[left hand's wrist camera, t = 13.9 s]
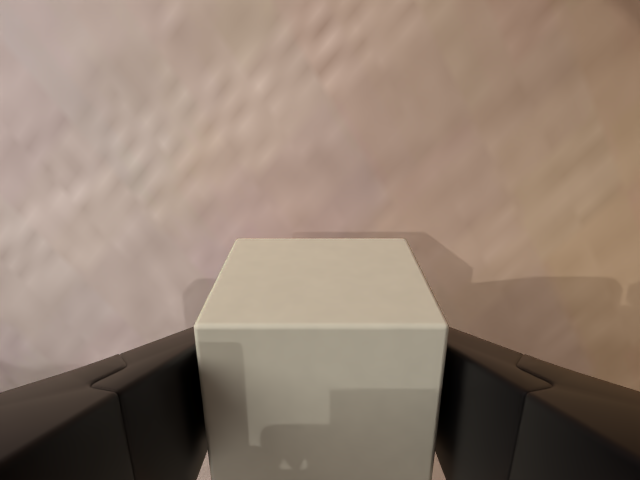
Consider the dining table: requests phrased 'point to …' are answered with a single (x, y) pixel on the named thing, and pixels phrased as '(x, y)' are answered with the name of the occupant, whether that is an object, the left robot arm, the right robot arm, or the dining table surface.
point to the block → (321, 361)
